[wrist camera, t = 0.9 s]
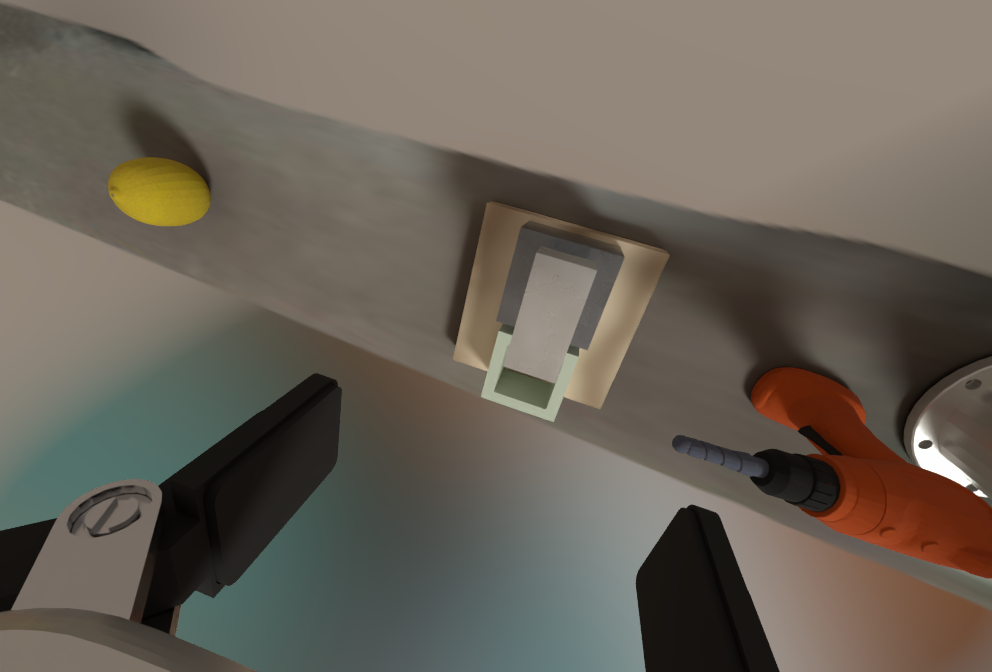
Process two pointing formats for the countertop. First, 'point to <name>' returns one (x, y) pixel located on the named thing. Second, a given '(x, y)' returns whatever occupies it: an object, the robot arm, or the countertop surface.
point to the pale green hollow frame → (525, 382)
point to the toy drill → (857, 476)
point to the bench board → (614, 324)
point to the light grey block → (549, 313)
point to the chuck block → (571, 243)
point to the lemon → (159, 191)
